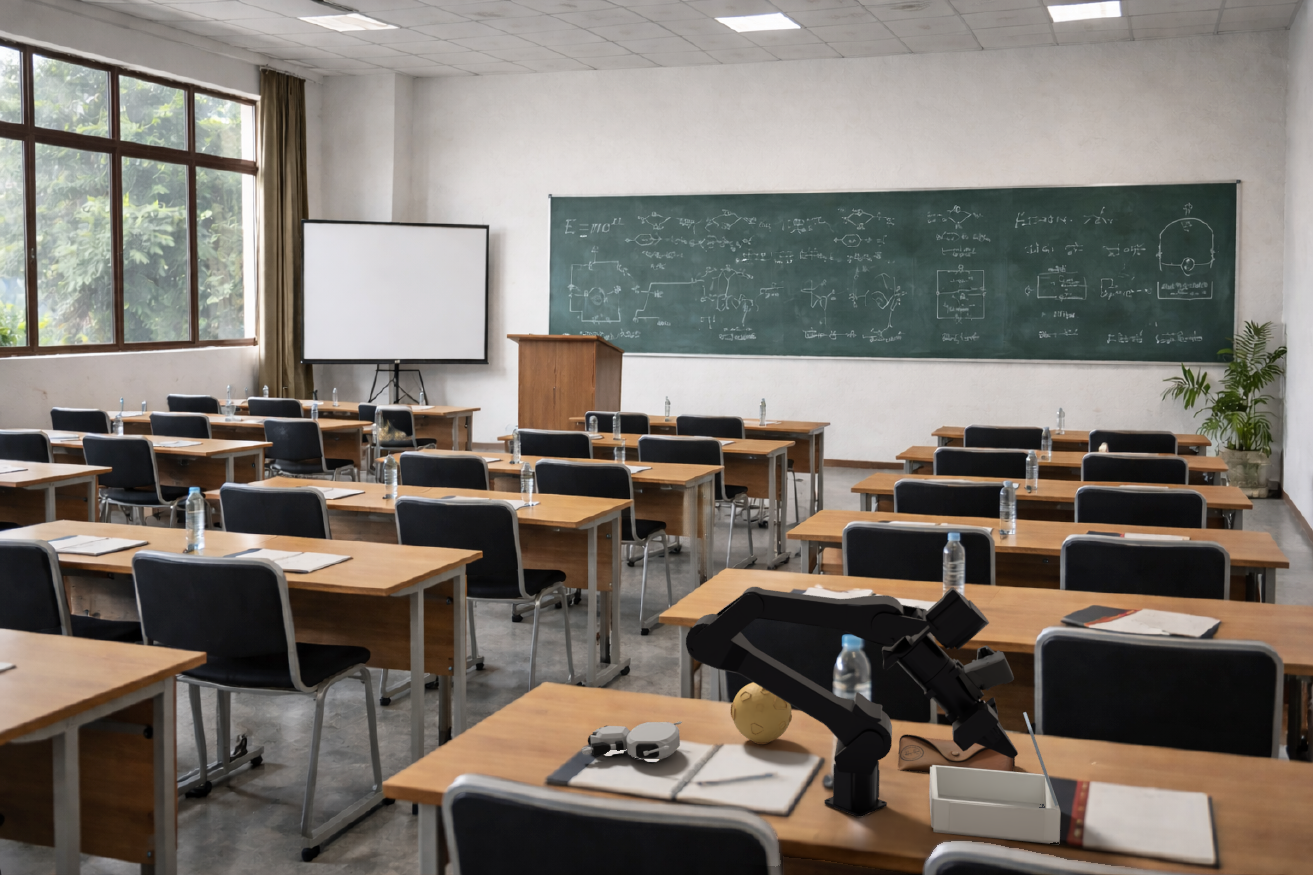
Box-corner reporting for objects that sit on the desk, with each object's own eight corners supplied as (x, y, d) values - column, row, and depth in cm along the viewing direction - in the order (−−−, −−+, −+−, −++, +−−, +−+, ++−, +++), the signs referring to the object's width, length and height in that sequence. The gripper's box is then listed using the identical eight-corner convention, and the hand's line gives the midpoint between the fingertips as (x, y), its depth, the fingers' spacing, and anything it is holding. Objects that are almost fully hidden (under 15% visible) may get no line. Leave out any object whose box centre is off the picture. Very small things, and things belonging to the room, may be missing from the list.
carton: (931, 832, 147) (932, 799, 147) (929, 793, 160) (929, 763, 160) (1059, 845, 144) (1060, 811, 143) (1046, 804, 157) (1047, 773, 157)
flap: (1055, 805, 144) (1032, 740, 144) (1044, 772, 156) (1023, 712, 156) (1058, 805, 144) (1035, 740, 144) (1046, 772, 156) (1025, 711, 156)
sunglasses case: (894, 770, 169) (896, 727, 172) (896, 779, 175) (898, 737, 178) (1017, 783, 164) (1017, 739, 167) (1015, 792, 170) (1015, 749, 173)
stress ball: (748, 735, 188) (710, 704, 184) (786, 691, 189) (749, 660, 185) (774, 764, 179) (734, 733, 175) (813, 718, 180) (774, 686, 175)
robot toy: (579, 771, 171) (673, 771, 168) (577, 742, 171) (671, 742, 168) (598, 744, 183) (686, 744, 180) (596, 717, 183) (684, 717, 180)
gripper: (982, 650, 142) (1070, 740, 140) (974, 617, 160) (1051, 697, 158) (918, 705, 144) (1004, 795, 142) (917, 667, 162) (993, 746, 160)
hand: (1015, 755), depth 151 cm, fingers closed
